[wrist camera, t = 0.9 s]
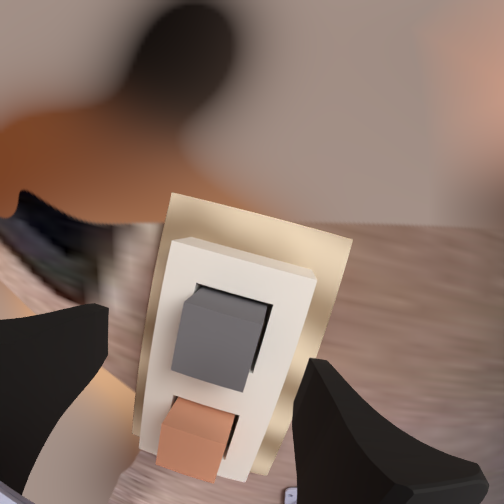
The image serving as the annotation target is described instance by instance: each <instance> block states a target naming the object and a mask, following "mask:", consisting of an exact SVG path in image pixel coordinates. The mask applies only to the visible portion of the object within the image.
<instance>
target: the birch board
mask: <svg viewBox="0 0 504 504" xmlns="http://www.w3.org/2000/svg"><path fill="white" fill-rule="evenodd" d="M188 237H194V238H197V239H201V240H205V241H208V242H212V243H216V244H219V245H223V246H227V247H230V248H234V249H238V250H241V251H245V252H249V253H253V254H256V255H260V256H264V257H267V258H271V259H275V260H278V261H282V262H286V263H290V264H293V265H297V266H301V267H304V268H308V269H312V271H313V273H314V275H315V277H316V279H317V283H316V286H315V290H314V293H313V296H312V300H311V303H310V306H309V309H308V313H307V316H306V319H305V322H304V325H303V328H302V331H301V335H300V338H299V341H298V344H297V347H296V350H295V353H294V356H293V359H292V361H291V364H290V367H289V370H288V373H287V376H286V379H285V382H284V384H283V387H282V390H281V393H280V395H279V398H278V401H277V404H276V406H275V409H274V412H273V414H272V417H271V420H270V422H269V425H268V427H267V430H266V433H265V435H264V438H263V440H262V443H261V445H260V448H259V450H258V453H257V455H256V458H255V460H254V462H253V465H252V467H251V470H250V472H251V473H256V474H260V475H265V476H267V474H268V472H269V470H270V468H271V465H272V463H273V461H274V459H275V457H276V455H277V452H278V450H279V448H280V446H281V443H282V441H283V439H284V436H285V434H286V432H287V429H288V427H289V425H290V422H291V420H292V416H293V402H294V399H295V397H296V394H297V391H298V389H299V386H300V383H301V380H302V378H303V375H304V372H305V369H306V366H307V364H308V361H309V358H316V355H317V353H318V350H319V347H320V344H321V341H322V338H323V336H324V333H325V330H326V327H327V324H328V321H329V318H330V315H331V312H332V308H333V305H334V302H335V299H336V296H337V293H338V289H339V286H340V283H341V280H342V276H343V273H344V269H345V266H346V262H347V259H348V255H349V252H350V248H351V245H352V241H353V240H352V239H349V238H345V237H342V236H338V235H335V234H331V233H328V232H324V231H321V230H317V229H313V228H310V227H306V226H302V225H299V224H295V223H291V222H288V221H284V220H280V219H276V218H272V217H269V216H265V215H261V214H257V213H253V212H250V211H246V210H242V209H238V208H234V207H230V206H226V205H222V204H218V203H214V202H210V201H205V200H202V199H197V198H193V197H189V196H185V195H180V194H176V193H172V195H171V199H170V203H169V207H168V211H167V215H166V219H165V224H164V228H163V233H162V237H161V242H160V246H159V251H158V256H157V261H156V266H155V271H154V276H153V281H152V286H151V292H150V297H149V303H148V309H147V315H146V321H145V327H144V334H143V340H142V347H141V354H140V362H139V369H138V377H137V386H136V396H135V405H134V415H133V427H132V434H134V435H136V436H139V437H140V431H141V422H142V413H143V404H144V396H145V388H146V381H147V373H148V366H149V360H150V353H151V347H152V340H153V334H154V328H155V322H156V317H157V311H158V306H159V300H160V295H161V290H162V285H163V280H164V275H165V270H166V265H167V260H168V255H169V251H170V246H171V242H172V240H177V239H182V238H188ZM208 287H209V286H208ZM210 288H212V287H210ZM214 289H216V288H214ZM217 290H219V289H217ZM220 291H223V290H220ZM224 292H226V291H224ZM227 293H230V292H227ZM231 294H233V293H231ZM234 295H237V294H234ZM238 296H240V295H238ZM241 297H244V296H241ZM245 298H247V297H245ZM249 299H251V298H249ZM252 300H255V299H252ZM256 301H258V300H256ZM259 302H262V301H259ZM263 303H265V302H263ZM267 304H268V305H267V310H266V314H265V318H264V323H263V327H262V330H261V334H260V337H259V340H258V344H257V347H256V349H259V346H260V342H261V339H262V336H263V332H264V329H265V325H266V322H267V318H268V315H269V311H270V308H271V304H269V303H267ZM237 417H238V415H236V414H235V417H234V420H233V424H232V427H231V430H234V427H235V424H236V420H237Z"/></svg>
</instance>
